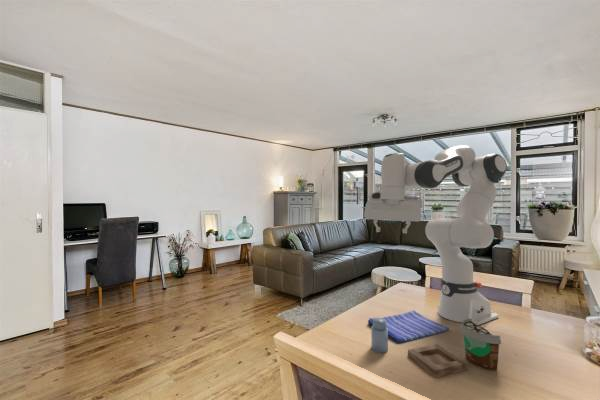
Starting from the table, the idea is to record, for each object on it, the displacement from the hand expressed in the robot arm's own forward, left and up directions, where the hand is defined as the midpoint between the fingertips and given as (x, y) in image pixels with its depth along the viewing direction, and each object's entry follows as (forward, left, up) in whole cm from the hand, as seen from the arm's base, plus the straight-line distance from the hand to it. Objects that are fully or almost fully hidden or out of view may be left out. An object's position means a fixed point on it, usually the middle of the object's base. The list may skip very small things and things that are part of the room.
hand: (391, 232), depth 108 cm
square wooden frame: (+3, +25, -35) cm, 43 cm away
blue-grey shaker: (+14, +13, -35) cm, 40 cm away
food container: (-8, +28, -35) cm, 45 cm away
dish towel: (-4, +3, -35) cm, 36 cm away
